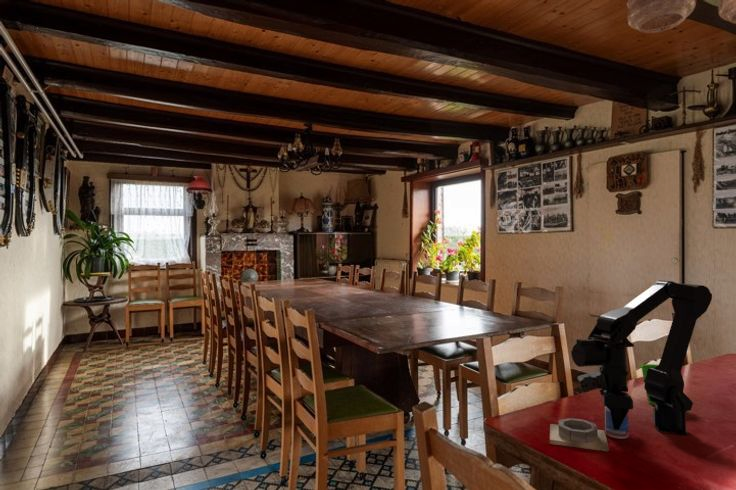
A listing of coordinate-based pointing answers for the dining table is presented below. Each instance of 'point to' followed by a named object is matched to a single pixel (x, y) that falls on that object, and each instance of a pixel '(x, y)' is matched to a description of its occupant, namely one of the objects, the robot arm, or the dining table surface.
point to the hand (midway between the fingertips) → (614, 425)
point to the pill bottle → (609, 428)
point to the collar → (578, 434)
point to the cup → (644, 371)
